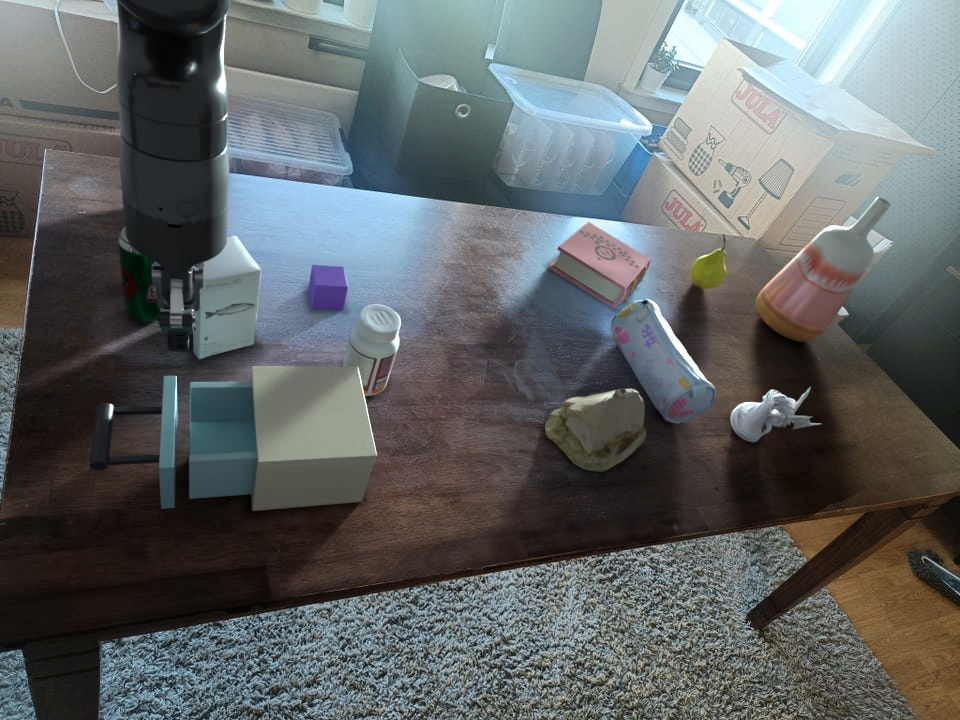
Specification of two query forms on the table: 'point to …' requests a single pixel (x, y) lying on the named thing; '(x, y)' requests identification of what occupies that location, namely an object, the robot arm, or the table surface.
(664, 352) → the pencil case
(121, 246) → the soda can
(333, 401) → the block
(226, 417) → the drawer
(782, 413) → the figurine
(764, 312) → the vase
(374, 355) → the pill bottle
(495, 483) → the table surface
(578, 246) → the book
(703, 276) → the fruit
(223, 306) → the white packaging box
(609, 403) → the beige rock
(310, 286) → the purple cube
